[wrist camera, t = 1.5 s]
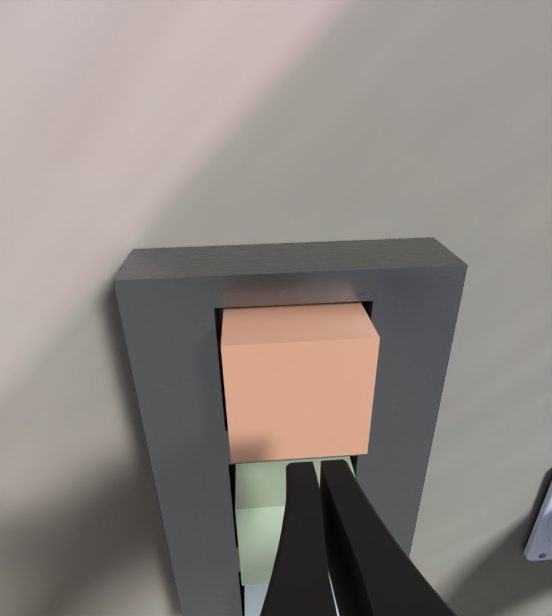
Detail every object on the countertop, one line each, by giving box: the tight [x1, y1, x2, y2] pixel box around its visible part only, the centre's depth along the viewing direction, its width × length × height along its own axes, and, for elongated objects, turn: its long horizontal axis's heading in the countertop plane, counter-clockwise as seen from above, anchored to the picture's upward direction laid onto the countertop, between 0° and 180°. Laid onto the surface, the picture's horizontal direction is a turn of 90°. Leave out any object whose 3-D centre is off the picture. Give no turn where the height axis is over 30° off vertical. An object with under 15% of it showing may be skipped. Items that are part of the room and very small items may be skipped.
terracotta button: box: [221, 301, 380, 463], centre depth 16 cm, size 5×5×3 cm
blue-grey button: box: [245, 579, 339, 616], centre depth 23 cm, size 5×5×3 cm
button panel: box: [113, 238, 468, 616], centre depth 21 cm, size 12×23×3 cm, turn 1°
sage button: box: [235, 456, 356, 586], centre depth 20 cm, size 5×5×3 cm
